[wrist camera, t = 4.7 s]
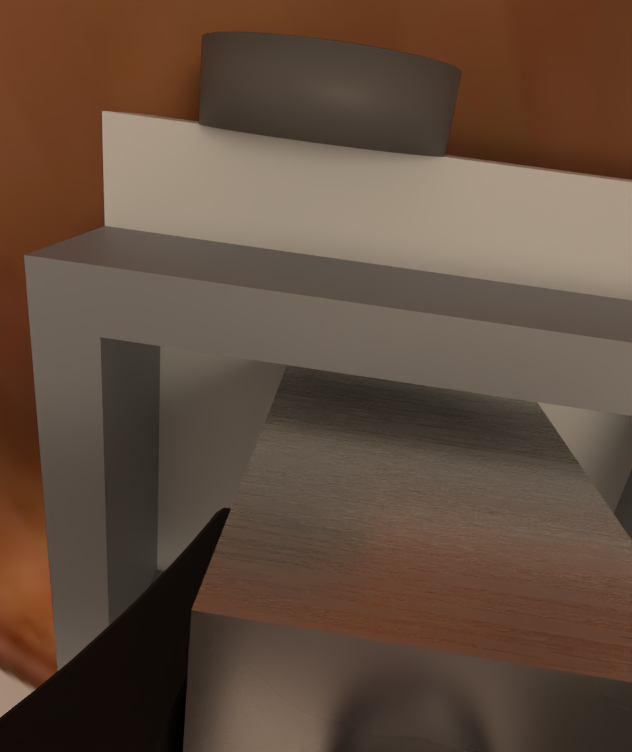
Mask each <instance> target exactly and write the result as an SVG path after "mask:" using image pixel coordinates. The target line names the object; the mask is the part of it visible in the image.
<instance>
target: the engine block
mask: <svg viewBox="0 0 632 752" xmlns="http://www.w3.org/2000/svg"><path fill="white" fill-rule="evenodd" d="M183 752H632V540H631V539H630V537H629V536H628V534H627V533H626V531H625V530H624V528H623V527H622V525H621V524H620V522H619V521H618V520H617V518H616V517H615V515H614V514H613V512H612V511H611V509H610V508H609V506H608V505H607V503H606V502H605V501H604V499H603V498H602V496H601V495H600V493H599V492H598V490H597V489H596V487H595V486H594V484H593V483H592V481H591V480H590V479H589V477H588V476H587V474H586V473H585V471H584V470H583V468H582V467H581V465H580V464H579V462H578V461H577V460H576V458H575V457H574V455H573V454H572V452H571V451H570V449H569V448H568V446H567V445H566V443H565V442H564V440H563V439H562V438H561V436H560V435H559V433H558V432H557V430H556V429H555V427H554V426H553V424H552V423H551V421H550V420H549V419H548V417H547V416H546V414H545V413H544V411H543V410H542V408H541V407H540V405H539V404H538V402H533V401H526V400H520V399H513V398H506V397H499V396H493V395H486V394H479V393H472V392H466V391H459V390H452V389H446V388H439V387H432V386H425V385H419V384H412V383H405V382H398V381H392V380H385V379H378V378H371V377H365V376H358V375H351V374H345V373H338V372H331V371H324V370H318V369H311V368H304V367H297V366H291V365H287V367H286V369H285V372H284V375H283V377H282V380H281V382H280V385H279V387H278V390H277V392H276V395H275V398H274V400H273V403H272V405H271V408H270V410H269V413H268V415H267V418H266V421H265V423H264V426H263V428H262V431H261V433H260V436H259V438H258V441H257V444H256V446H255V449H254V451H253V454H252V456H251V459H250V462H249V464H248V467H247V469H246V472H245V474H244V477H243V479H242V482H241V485H240V487H239V490H238V492H237V495H236V497H235V500H234V502H233V505H232V508H231V510H230V513H229V515H228V518H227V520H226V523H225V525H224V528H223V531H222V533H221V536H220V538H219V541H218V543H217V546H216V548H215V551H214V554H213V556H212V559H211V561H210V564H209V566H208V569H207V571H206V574H205V577H204V579H203V582H202V584H201V587H200V589H199V592H198V594H197V597H196V600H195V602H194V605H193V607H192V610H191V624H190V641H189V657H188V674H187V691H186V708H185V724H184V741H183Z"/></svg>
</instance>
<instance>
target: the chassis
mask: <svg viewBox="0 0 632 752" xmlns="http://www.w3.org/2000/svg"><path fill="white" fill-rule="evenodd" d="M461 73H462V72H461V70H460V69H458V68H457V67H454V66H452V65H450V64H447V63H444V62H440V61H437V60H434V59H430V58H426V57H422V56H418V55H413V54H409V53H404V52H399V51H394V50H389V49H384V48H378V47H372V46H366V45H360V44H354V43H347V42H341V41H333V40H326V39H318V38H310V37H302V36H292V35H282V34H270V33H255V32H212V33H206V34H204V35H203V36H202V50H201V77H200V104H199V121H192V120H185V119H177V118H170V117H163V116H155V115H148V114H140V113H128V112H113V111H102V134H103V175H104V215H105V226H103V227H100V228H97V229H94V230H92V231H89V232H86V233H83V234H81V235H78V236H75V237H72V238H69V239H67V240H64V241H61V242H58V243H56V244H53V245H50V246H47V247H45V248H42V249H39V250H36V251H34V252H31V253H28V254H25V255H24V262H25V274H26V286H27V299H28V311H29V323H30V336H31V348H32V360H33V372H34V385H35V397H36V409H37V422H38V434H39V446H40V458H41V471H42V483H43V495H44V508H45V520H46V532H47V544H48V557H49V569H50V581H51V594H52V606H53V618H54V631H55V643H56V655H57V667H58V671H59V670H60V669H61V668H62V667H63V666H64V665H66V664H67V663H68V662H69V661H70V660H72V659H73V658H74V657H75V656H76V655H77V654H78V653H79V652H81V651H82V650H83V649H84V648H85V647H86V646H87V645H88V644H89V643H90V642H92V641H93V640H94V639H95V638H96V637H97V636H98V635H99V634H100V633H101V632H103V631H104V630H105V629H106V628H107V627H108V626H109V625H110V624H111V623H112V622H113V621H115V620H116V619H117V618H118V617H119V616H120V615H121V614H122V613H123V612H124V611H125V610H126V609H127V608H129V607H130V606H131V605H132V604H133V603H134V602H135V601H136V600H137V599H138V598H139V597H140V596H141V595H142V594H143V593H144V592H145V591H146V590H147V589H148V587H149V586H150V585H151V584H152V583H153V582H154V581H155V580H156V579H157V578H158V577H159V576H160V575H161V574H162V573H163V572H164V571H165V570H166V569H167V568H168V567H169V566H170V565H171V564H172V563H173V562H174V561H175V560H176V558H177V557H178V556H179V555H180V554H181V553H182V552H183V551H184V550H185V549H186V548H187V546H188V545H189V544H190V543H191V542H192V541H193V540H194V539H195V537H196V536H197V535H198V534H199V533H200V531H201V530H202V529H203V528H204V527H205V526H206V524H207V523H208V522H209V521H210V519H211V518H212V517H213V516H214V514H215V513H216V512H218V511H219V510H221V509H222V508H232V505H233V502H234V500H235V497H236V495H237V492H238V490H239V487H240V485H241V482H242V479H243V477H244V474H245V472H246V469H247V467H248V464H249V462H250V459H251V456H252V454H253V451H254V449H255V446H256V444H257V441H258V438H259V436H260V433H261V431H262V428H263V426H264V423H265V421H266V418H267V415H268V413H269V410H270V408H271V405H272V403H273V400H274V398H275V395H276V392H277V390H278V387H279V385H280V382H281V380H282V377H283V375H284V372H285V369H286V367H287V365H291V366H297V367H304V368H311V369H318V370H324V371H331V372H338V373H345V374H351V375H358V376H365V377H371V378H378V379H385V380H392V381H398V382H405V383H412V384H419V385H425V386H432V387H439V388H446V389H452V390H459V391H466V392H472V393H479V394H486V395H493V396H499V397H506V398H513V399H520V400H526V401H533V402H538V404H539V405H540V407H541V408H542V410H543V411H544V413H545V414H546V416H547V417H548V419H549V420H550V421H551V423H552V424H553V426H554V427H555V429H556V430H557V432H558V433H559V435H560V436H561V438H562V439H563V440H564V442H565V443H566V445H567V446H568V448H569V449H570V451H571V452H572V454H573V455H574V457H575V458H576V460H577V461H578V462H579V464H580V465H581V467H582V468H583V470H584V471H585V473H586V474H587V476H588V477H589V479H590V480H591V481H592V483H593V484H594V486H595V487H596V489H597V490H598V492H599V493H600V495H601V496H602V498H603V499H604V501H605V502H606V503H607V505H608V506H609V508H610V509H611V511H612V512H613V514H614V515H615V517H616V518H617V520H618V521H619V522H620V524H621V525H622V527H623V528H624V530H625V531H626V533H627V534H628V536H629V537H630V539H631V540H632V180H630V179H623V178H615V177H608V176H600V175H593V174H586V173H578V172H571V171H563V170H556V169H548V168H541V167H534V166H526V165H519V164H511V163H504V162H496V161H489V160H482V159H474V158H467V157H459V156H452V155H445V153H446V148H447V143H448V138H449V133H450V128H451V123H452V118H453V113H454V108H455V103H456V98H457V93H458V88H459V83H460V78H461Z"/></svg>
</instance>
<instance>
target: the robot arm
mask: <svg viewBox="0 0 632 752" xmlns="http://www.w3.org/2000/svg"><path fill="white" fill-rule="evenodd" d="M230 510H231V508H222V509H221V510H219V511H218V512H216V513H215V514H214V516H213V517H212V518H211V519H210V521H209V522H208V523H207V524H206V526H205V527H204V528H203V529H202V530H201V531H200V533H199V534H198V535H197V536H196V537H195V539H194V540H193V541H192V542H191V543H190V544H189V545H188V546H187V548H186V549H185V550H184V551H183V552H182V553H181V554H180V555H179V556H178V557H177V558H176V560H175V561H174V562H173V563H172V564H171V565H170V566H169V567H168V568H167V569H166V570H165V571H164V572H163V573H162V574H161V575H160V576H159V577H158V578H157V579H156V580H155V581H154V582H153V583H152V584H151V585H150V586H149V587H148V589H147V590H146V591H145V592H144V593H143V594H142V595H141V596H140V597H139V598H138V599H137V600H136V601H135V602H134V603H133V604H132V605H131V606H130V607H129V608H127V609H126V610H125V611H124V612H123V613H122V614H121V615H120V616H119V617H118V618H117V619H116V620H115V621H113V622H112V623H111V624H110V625H109V626H108V627H107V628H106V629H105V630H104V631H103V632H101V633H100V634H99V635H98V636H97V637H96V638H95V639H94V640H93V641H92V642H90V643H89V644H88V645H87V646H86V647H85V648H84V649H83V650H82V651H81V652H79V653H78V654H77V655H76V656H75V657H74V658H73V659H72V660H70V661H69V662H68V663H67V664H66V665H64V666H63V667H62V668H61V669H60V670H59V671H57V672H56V673H55V674H54V675H53V676H52V677H50V678H49V679H48V680H47V681H45V682H44V683H43V684H42V685H41V686H39V687H38V688H37V689H36V690H35V691H33V692H32V693H31V694H30V695H28V696H27V697H26V698H24V699H23V700H22V701H21V702H20V703H18V704H17V705H16V706H14V707H13V708H12V709H11V710H9V711H8V712H7V713H5V714H4V715H3V716H2V717H0V752H183V741H184V724H185V708H186V691H187V674H188V657H189V641H190V624H191V610H192V607H193V605H194V602H195V600H196V597H197V594H198V592H199V589H200V587H201V584H202V582H203V579H204V577H205V574H206V571H207V569H208V566H209V564H210V561H211V559H212V556H213V554H214V551H215V548H216V546H217V543H218V541H219V538H220V536H221V533H222V531H223V528H224V525H225V523H226V520H227V518H228V515H229V513H230Z"/></svg>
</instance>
